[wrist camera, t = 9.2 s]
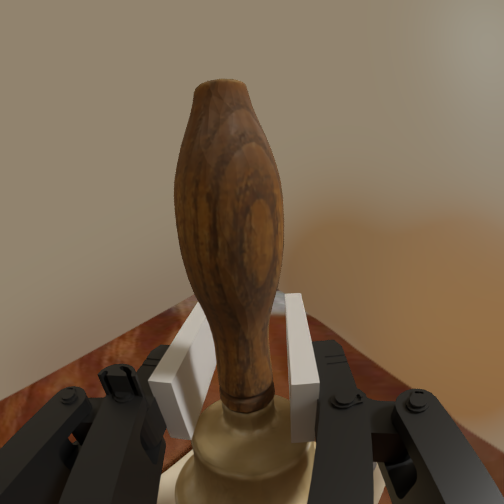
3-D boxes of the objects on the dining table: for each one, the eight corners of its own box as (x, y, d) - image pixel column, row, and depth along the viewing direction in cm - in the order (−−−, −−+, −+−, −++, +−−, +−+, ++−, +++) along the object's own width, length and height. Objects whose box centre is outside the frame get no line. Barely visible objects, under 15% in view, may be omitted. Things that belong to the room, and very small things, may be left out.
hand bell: (347, 436, 12) (362, 115, 9) (333, 563, 4) (428, -40, 1) (210, 422, 14) (163, 139, 11) (148, 524, 7) (-15, 121, 3)
